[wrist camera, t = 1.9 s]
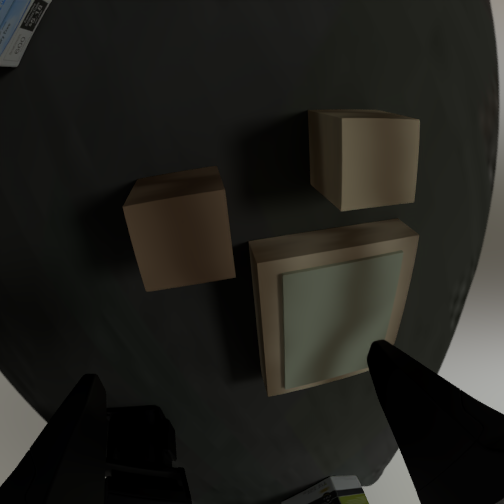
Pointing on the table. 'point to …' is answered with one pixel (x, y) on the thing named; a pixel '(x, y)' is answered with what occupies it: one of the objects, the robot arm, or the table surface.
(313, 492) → the tea box
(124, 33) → the table surface
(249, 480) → the table surface
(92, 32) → the table surface
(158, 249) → the walnut block
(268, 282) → the plinth
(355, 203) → the oak block
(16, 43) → the light bulb box
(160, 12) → the table surface
